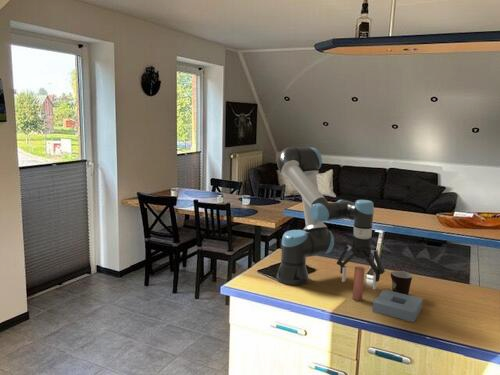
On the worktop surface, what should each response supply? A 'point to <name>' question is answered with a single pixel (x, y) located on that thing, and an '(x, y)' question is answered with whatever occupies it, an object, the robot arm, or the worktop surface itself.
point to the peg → (358, 283)
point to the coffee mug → (401, 281)
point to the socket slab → (398, 305)
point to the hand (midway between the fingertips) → (358, 284)
